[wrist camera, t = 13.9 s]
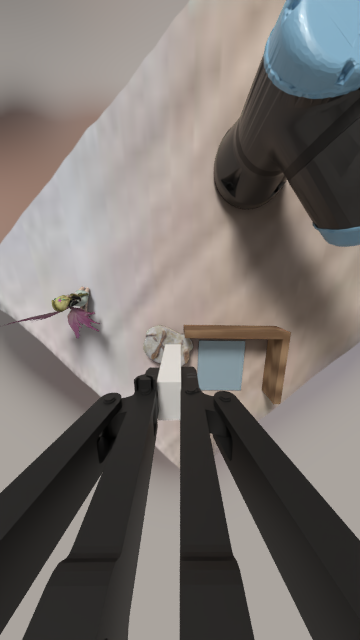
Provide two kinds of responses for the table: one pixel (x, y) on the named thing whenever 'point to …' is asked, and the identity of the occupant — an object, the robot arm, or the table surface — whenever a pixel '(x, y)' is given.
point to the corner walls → (274, 334)
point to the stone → (163, 336)
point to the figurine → (75, 313)
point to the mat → (220, 364)
